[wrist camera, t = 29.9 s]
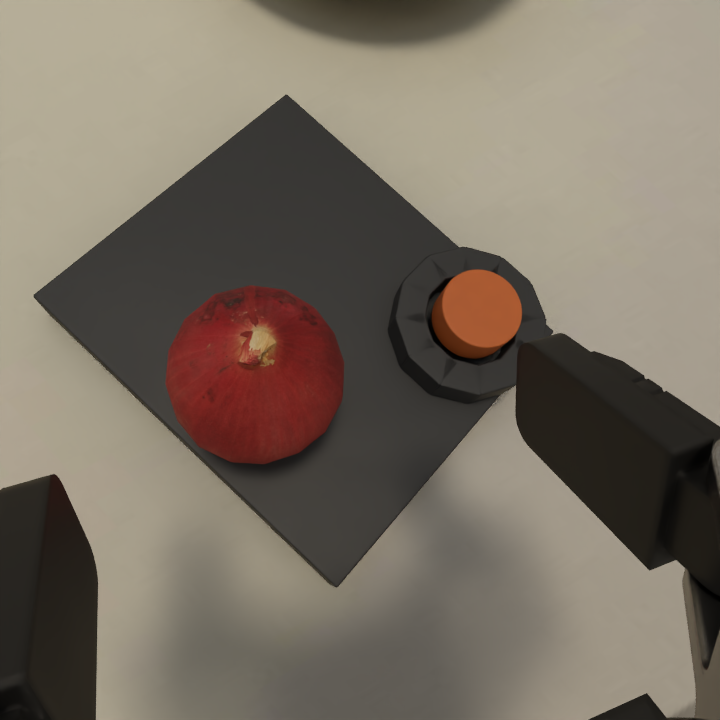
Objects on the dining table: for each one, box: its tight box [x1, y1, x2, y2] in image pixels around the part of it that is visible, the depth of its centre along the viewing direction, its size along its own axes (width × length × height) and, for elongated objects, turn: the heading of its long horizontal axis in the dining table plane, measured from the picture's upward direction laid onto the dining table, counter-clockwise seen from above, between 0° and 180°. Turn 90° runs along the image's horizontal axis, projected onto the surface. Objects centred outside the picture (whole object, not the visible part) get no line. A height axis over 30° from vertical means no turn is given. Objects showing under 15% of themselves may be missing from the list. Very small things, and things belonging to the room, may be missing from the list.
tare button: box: [432, 269, 522, 359], centre depth 25 cm, size 3×3×2 cm
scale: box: [34, 95, 553, 587], centre depth 26 cm, size 16×14×4 cm
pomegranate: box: [165, 285, 344, 464], centre depth 21 cm, size 6×6×8 cm
